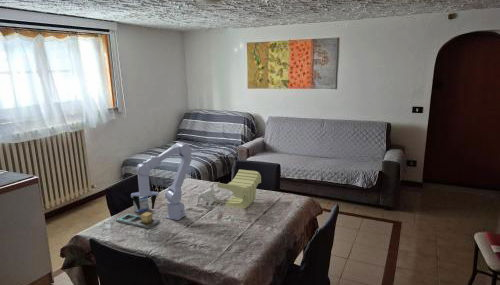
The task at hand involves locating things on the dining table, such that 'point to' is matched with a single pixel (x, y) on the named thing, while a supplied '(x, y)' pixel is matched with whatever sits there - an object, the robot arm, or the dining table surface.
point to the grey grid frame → (135, 217)
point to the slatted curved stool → (242, 188)
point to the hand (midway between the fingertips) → (146, 208)
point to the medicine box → (142, 204)
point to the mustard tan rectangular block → (147, 218)
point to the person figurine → (209, 195)
